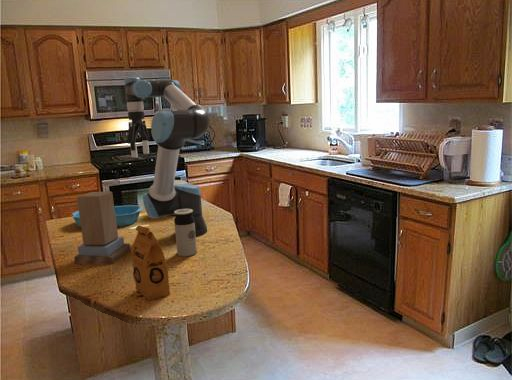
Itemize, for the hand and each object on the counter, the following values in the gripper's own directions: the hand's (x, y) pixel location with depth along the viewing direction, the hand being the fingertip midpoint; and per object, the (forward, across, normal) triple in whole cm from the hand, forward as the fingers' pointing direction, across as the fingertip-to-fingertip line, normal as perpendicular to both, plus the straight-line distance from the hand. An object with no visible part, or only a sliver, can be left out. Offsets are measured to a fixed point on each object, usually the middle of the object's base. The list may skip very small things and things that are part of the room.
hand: (140, 155), depth 205 cm
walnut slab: (+37, +40, -3) cm, 55 cm away
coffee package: (+37, +72, +32) cm, 87 cm away
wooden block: (+30, +40, -3) cm, 51 cm away
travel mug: (+37, +36, +32) cm, 61 cm away
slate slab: (+34, +40, -3) cm, 52 cm away
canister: (+37, -28, +4) cm, 46 cm away
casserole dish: (+37, -9, -26) cm, 47 cm away
